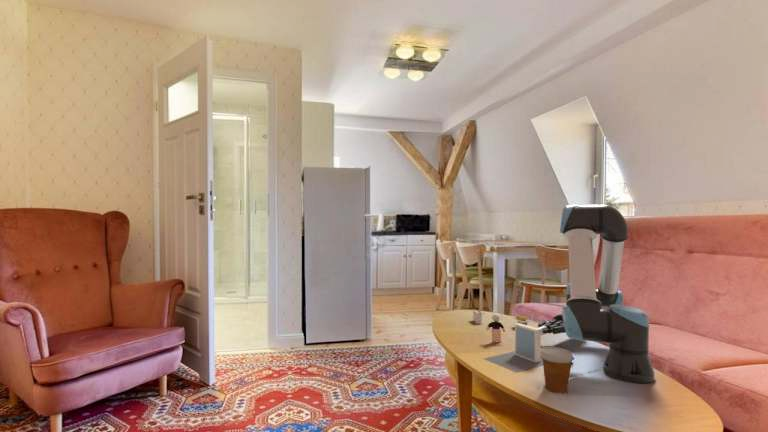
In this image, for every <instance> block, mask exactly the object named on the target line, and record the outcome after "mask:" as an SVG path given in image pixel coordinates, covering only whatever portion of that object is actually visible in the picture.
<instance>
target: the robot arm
mask: <svg viewBox="0 0 768 432" xmlns="http://www.w3.org/2000/svg"><path fill="white" fill-rule="evenodd" d="M562 207H563V208H562V213H561V222H560V227H559V233H560V234H562V235H563V237H564V239H565V240H566V241H568V243H567V244H568V263H569V265H568V267H569V270H568V271H569V283H567V284H566V290H565V305H563V306H562V307H561V314H557V315H555V316H554V317H553V319H552V320H548V321H547V320H546V319H542V320H541V321H540V322H539V323H538V324H537V328H538V329H541V336H543V335H546V334H552V335H557V334H565V335H566V336H567V337H568V338H569V339H572V340H578V341H580V342H582V341H583V342H584V341H586V342H595V343H596V342H598V343H608V344H609V350H608V353H607V355H606V356H605V357H606V358H605V360H604V363H603V372H604V373H605V374H606V375H607V376H609V377H611V378H614V379H616V380H620V381H623V382H629V383H635V384H648V383H653V382H654V381H655V376H656V373H655V370H654V367H653V364H652V361H651V359H650V356H649V355H650V354H649V349H650V348H649V344H650V340H649V338H650V337H649V336H650V333H649V331H650V329H649V328H650V322H649V316H648V314H647V313H646V312H645V311H644V310H642V309H639V308H637V307H636V308H635V307H634V306H633V307H632V306H629V305H624V294H623V292H622V290H619V287H620V280H621V279H620V278H621V272H622V271H621V269H622V262H623V261H622V260H623V253H624V247H625V246H624V245H625V242H626V241H628V236H629V227H628V224H627V221H626V219H625V217H624V216H623V215H622V213H621V212H620V210H618V209H617V208H615V207H614V206H611V205H609V204H576V203H575V204H567V205H564V206H562ZM597 235H600V238H601V240H602V245H601V246H602V247H601V257H600V268H599V269H600V270H599V279H598V288H596V275H595V273H596V272H595V263H594V262H595V261H594V260H595V259H594V249H593V248H594V246H593V245H594V243H593V241H594V240H596V238H597Z"/></svg>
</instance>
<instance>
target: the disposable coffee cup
mask: <svg viewBox="0 0 768 432" xmlns="http://www.w3.org/2000/svg"><path fill="white" fill-rule="evenodd" d="M541 349H542V350H541V358H542V359H543V365H542V367H543V373H544V381H545V382H544V383H545V389H546V390H547V391H548V392H551V393H554V394H566V393H567V392H568V389H569V382H570V374H571V368H572V361H573V360H574V356H573V354H572V352H571V350H569V349H565V348H562V347H556V346H555V347H554V346H551V347H550V346H549V347H547V346H546V347H544V348H541Z"/></svg>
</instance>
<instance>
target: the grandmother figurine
mask: <svg viewBox="0 0 768 432" xmlns="http://www.w3.org/2000/svg"><path fill="white" fill-rule="evenodd" d="M500 318H501V316H500V314H499V313H493V314H492V315H491V319H492V320H493V321H490V322H489V323H488V325H487V327H486V330H487V331H489V330H490V329H491V343H492V344H495V343H499V344H500V343H502V332H503V333H505V332H506V329H505V326H504V325H503V324H502V322H500ZM501 330H502V331H501Z"/></svg>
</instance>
